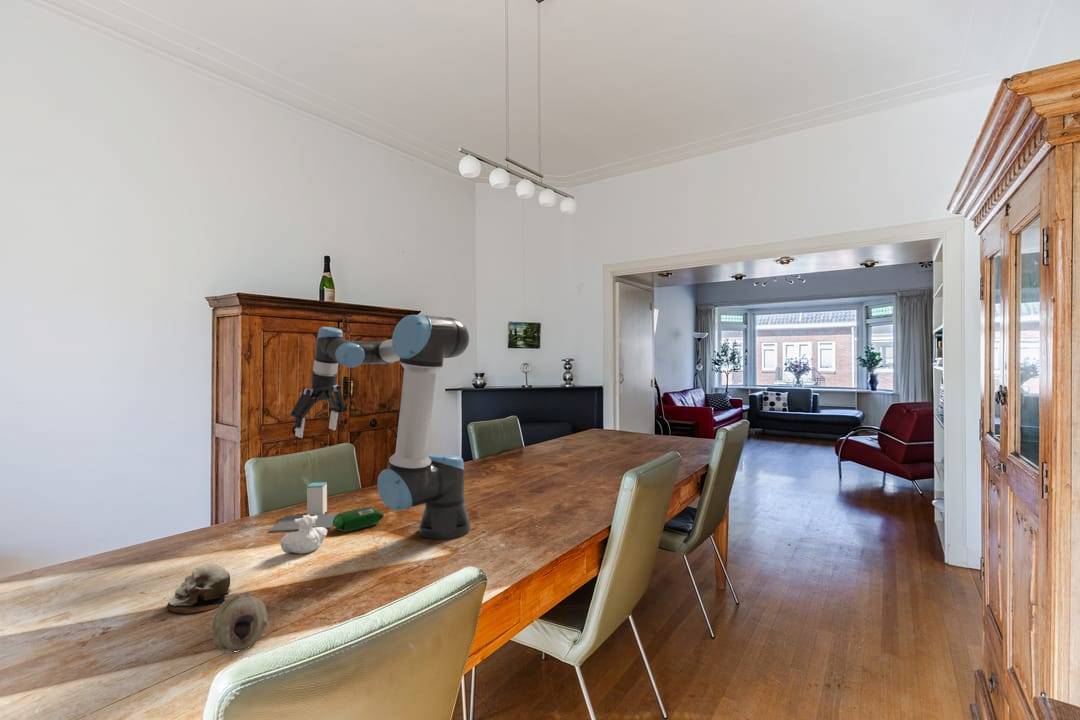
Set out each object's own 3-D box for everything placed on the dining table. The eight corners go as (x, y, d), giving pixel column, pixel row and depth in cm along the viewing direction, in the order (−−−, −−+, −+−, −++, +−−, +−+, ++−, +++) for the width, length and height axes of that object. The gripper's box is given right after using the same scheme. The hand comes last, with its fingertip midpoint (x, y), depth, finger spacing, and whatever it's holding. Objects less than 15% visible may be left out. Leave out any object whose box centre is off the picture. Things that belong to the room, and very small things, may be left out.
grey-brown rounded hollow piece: (214, 662, 88) (194, 613, 88) (254, 631, 96) (235, 587, 95) (246, 658, 85) (225, 607, 84) (284, 626, 92) (265, 580, 92)
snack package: (387, 524, 157) (387, 507, 157) (337, 535, 146) (337, 518, 146) (378, 519, 162) (378, 503, 162) (329, 530, 152) (329, 513, 152)
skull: (158, 618, 97) (165, 566, 103) (169, 634, 104) (176, 585, 110) (229, 603, 102) (232, 554, 109) (236, 619, 109) (238, 573, 116)
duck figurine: (281, 565, 130) (288, 539, 125) (275, 542, 134) (281, 515, 129) (328, 553, 138) (336, 528, 133) (321, 531, 142) (329, 506, 137)
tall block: (322, 515, 166) (322, 485, 166) (307, 516, 165) (306, 486, 165) (326, 510, 171) (326, 482, 171) (311, 511, 170) (311, 482, 170)
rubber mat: (330, 528, 152) (330, 527, 152) (268, 532, 149) (268, 530, 149) (342, 514, 166) (342, 513, 166) (285, 517, 164) (285, 516, 164)
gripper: (345, 367, 178) (337, 423, 181) (283, 372, 155) (275, 436, 159) (361, 373, 175) (352, 429, 178) (300, 379, 152) (291, 443, 156)
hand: (316, 432), depth 168 cm, fingers open, 13 cm apart
